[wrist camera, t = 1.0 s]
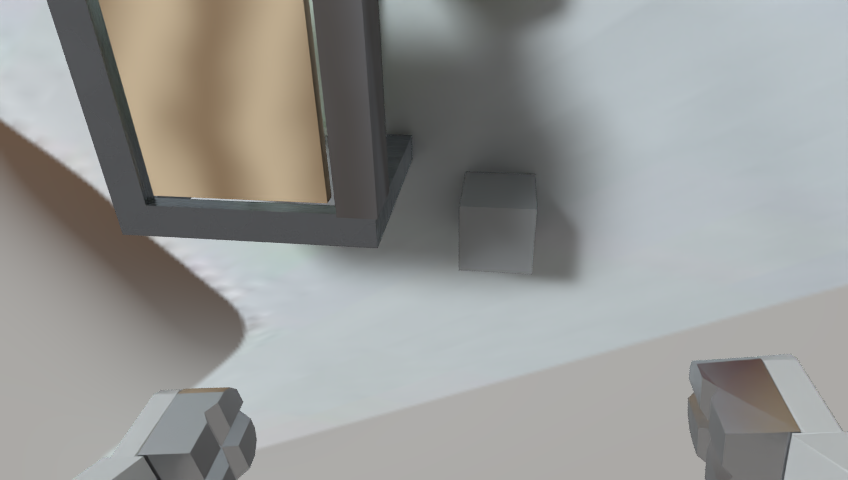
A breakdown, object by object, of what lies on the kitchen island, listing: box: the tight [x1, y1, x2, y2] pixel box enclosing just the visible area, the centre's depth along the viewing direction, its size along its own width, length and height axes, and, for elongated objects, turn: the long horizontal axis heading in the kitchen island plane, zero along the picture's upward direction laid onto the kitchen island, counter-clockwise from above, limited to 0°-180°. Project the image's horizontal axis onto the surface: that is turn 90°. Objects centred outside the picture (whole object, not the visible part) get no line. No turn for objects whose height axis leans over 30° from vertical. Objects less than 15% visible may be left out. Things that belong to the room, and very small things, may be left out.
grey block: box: [459, 172, 537, 274], centre depth 42 cm, size 5×5×6 cm
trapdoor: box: [99, 0, 389, 220], centre depth 28 cm, size 14×12×4 cm
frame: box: [47, 0, 413, 248], centre depth 35 cm, size 15×17×12 cm
